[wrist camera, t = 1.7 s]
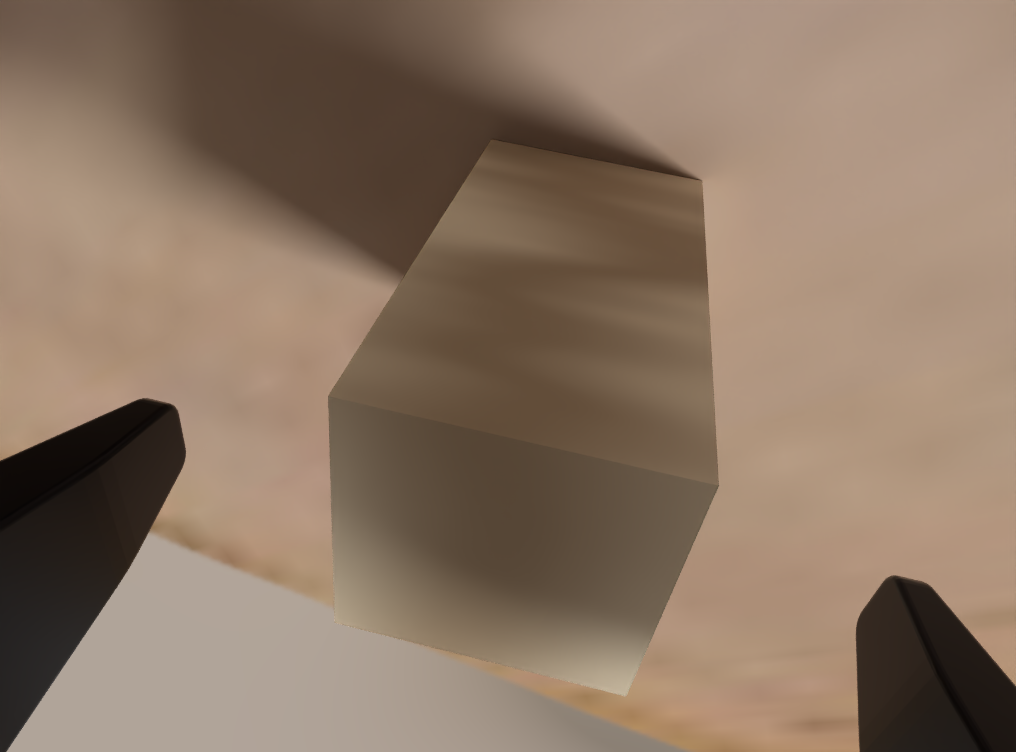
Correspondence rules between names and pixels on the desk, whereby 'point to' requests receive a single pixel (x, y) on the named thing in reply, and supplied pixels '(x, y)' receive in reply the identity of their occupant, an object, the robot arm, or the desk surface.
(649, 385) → the maple peg
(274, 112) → the desk surface
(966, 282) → the desk surface
